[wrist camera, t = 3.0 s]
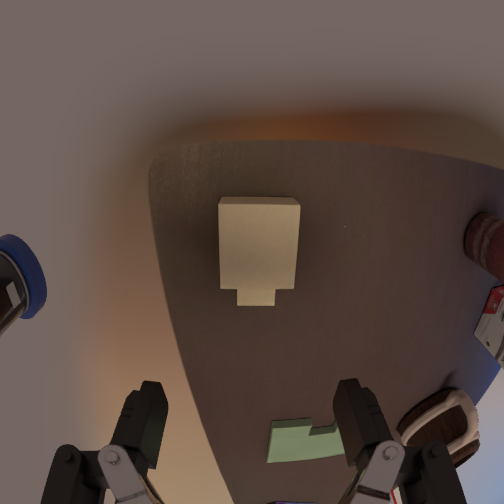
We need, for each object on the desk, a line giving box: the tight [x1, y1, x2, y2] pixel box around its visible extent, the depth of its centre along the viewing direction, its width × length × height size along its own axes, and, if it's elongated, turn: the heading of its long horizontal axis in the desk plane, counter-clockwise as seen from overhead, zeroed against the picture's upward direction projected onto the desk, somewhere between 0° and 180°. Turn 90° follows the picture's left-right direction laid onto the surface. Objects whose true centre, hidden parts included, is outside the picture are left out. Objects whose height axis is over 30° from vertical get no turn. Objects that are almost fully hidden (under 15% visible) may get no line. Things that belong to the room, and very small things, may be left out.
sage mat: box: [267, 418, 345, 463], centre depth 36 cm, size 16×14×2 cm
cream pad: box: [218, 197, 300, 306], centre depth 23 cm, size 6×10×3 cm, turn 179°
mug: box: [398, 389, 480, 469], centre depth 30 cm, size 20×15×15 cm
